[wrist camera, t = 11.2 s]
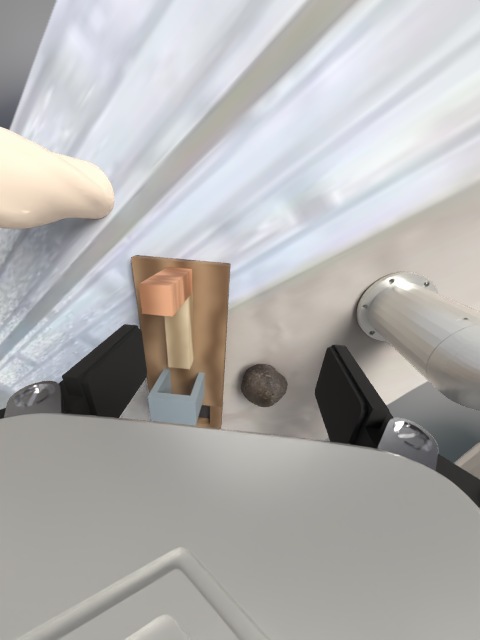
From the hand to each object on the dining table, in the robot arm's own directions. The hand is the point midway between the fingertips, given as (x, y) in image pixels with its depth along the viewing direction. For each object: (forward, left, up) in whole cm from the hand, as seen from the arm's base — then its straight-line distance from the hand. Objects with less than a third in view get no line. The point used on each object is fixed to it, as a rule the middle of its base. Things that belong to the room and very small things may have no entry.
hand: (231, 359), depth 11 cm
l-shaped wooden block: (+11, +11, -26) cm, 31 cm away
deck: (+11, +20, -28) cm, 37 cm away
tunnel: (+11, +26, -26) cm, 39 cm away
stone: (-5, +24, -29) cm, 38 cm away
